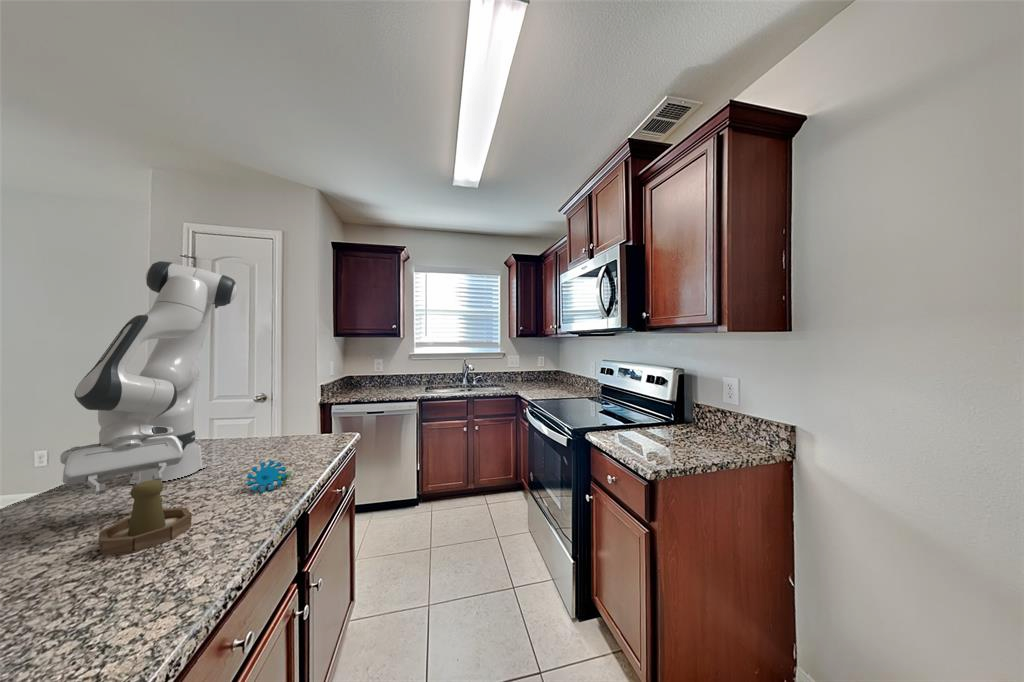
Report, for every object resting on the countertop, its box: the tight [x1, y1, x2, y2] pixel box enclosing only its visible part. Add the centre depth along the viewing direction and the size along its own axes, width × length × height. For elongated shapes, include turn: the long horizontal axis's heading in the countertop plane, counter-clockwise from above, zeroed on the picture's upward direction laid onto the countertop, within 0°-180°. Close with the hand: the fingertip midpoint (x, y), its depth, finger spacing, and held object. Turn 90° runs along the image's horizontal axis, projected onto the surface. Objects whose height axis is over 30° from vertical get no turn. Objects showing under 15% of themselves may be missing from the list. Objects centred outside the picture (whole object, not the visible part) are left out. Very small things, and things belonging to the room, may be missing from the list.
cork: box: [128, 480, 166, 537], centre depth 79 cm, size 6×6×11 cm
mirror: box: [98, 507, 192, 556], centre depth 79 cm, size 14×14×3 cm
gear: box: [246, 459, 291, 494], centre depth 106 cm, size 11×6×10 cm
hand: (130, 486), depth 84 cm, fingers open, 8 cm apart
